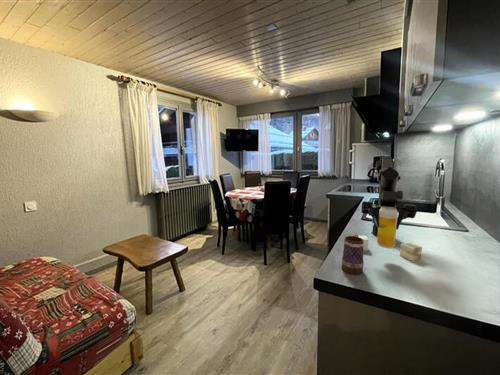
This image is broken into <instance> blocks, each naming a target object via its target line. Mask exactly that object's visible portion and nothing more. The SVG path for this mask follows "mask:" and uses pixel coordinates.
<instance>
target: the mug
mask: <svg viewBox="0 0 500 375" xmlns="http://www.w3.org/2000/svg"><path fill="white" fill-rule="evenodd" d="M358 235H359V234H358V233H353V235H347V236H345V237H344V241H343V251H342V257H341V270H342V271H344V272H345V273H347V274H350V275H356V276H357V275H361V274H362V273H363V272H364V264H365V263H364V250H363V246H364V242H363V239H362V238H359V237H358Z"/></svg>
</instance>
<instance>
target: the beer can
mask: <svg viewBox="0 0 500 375" xmlns="http://www.w3.org/2000/svg"><path fill="white" fill-rule="evenodd" d="M398 214H399V213H398V211H397V209H396V208H392V207H381V209H380V210H379V227H378V236H376V243H377V244H378V246H379V247H381V248H385V249H393V248H394V247H395V246H396V236H397V229H396V228H397V217H398Z"/></svg>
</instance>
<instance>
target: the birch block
mask: <svg viewBox="0 0 500 375" xmlns="http://www.w3.org/2000/svg"><path fill="white" fill-rule="evenodd" d="M399 249H400V250H399V256H400V257H402V258H405V259H407V260H409V261H416V260H421V259H422V252H423V246H421V245H418V244H415V243H412V242H405V243H401V244H400V248H399Z"/></svg>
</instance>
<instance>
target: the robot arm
mask: <svg viewBox="0 0 500 375" xmlns="http://www.w3.org/2000/svg"><path fill="white" fill-rule="evenodd" d="M395 161H396V160H394V159H393V157H391V156H382V157H380V159H379V160H376V163H375V171H376V175H377V182H378V183H379V184H378V187H379V188H378V200H377V201H378V202H377V203H378V204H375V203H374V204H373V201H365V200H364V201H362V202H361V213H362V214H365V215H368V216H370V217H372V220H371V221H372V222H371V223H372V224H373V225H372V231H371V234H373V235H375V236H376V237H377V236H378V227H379V210H380V209H381V207H392V208H396V209H397V211H398V216H397V228H396V231H398V230H399V227H400V225H401V223H402V222H403V220H406V219H414V218H416V215H417V213H418V207H417V206H416V205H415V204H406V203H405V204H404V205H403V207H398V206H397V205H398V201H402V200H403V198H404V195H403V194H404V192H403V190H397V191H396V186H397V185H398V184H397V183H398V182H400V181H399V180H401V176H400V174H399V172H398V171H397V169H396V168H395Z"/></svg>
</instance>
